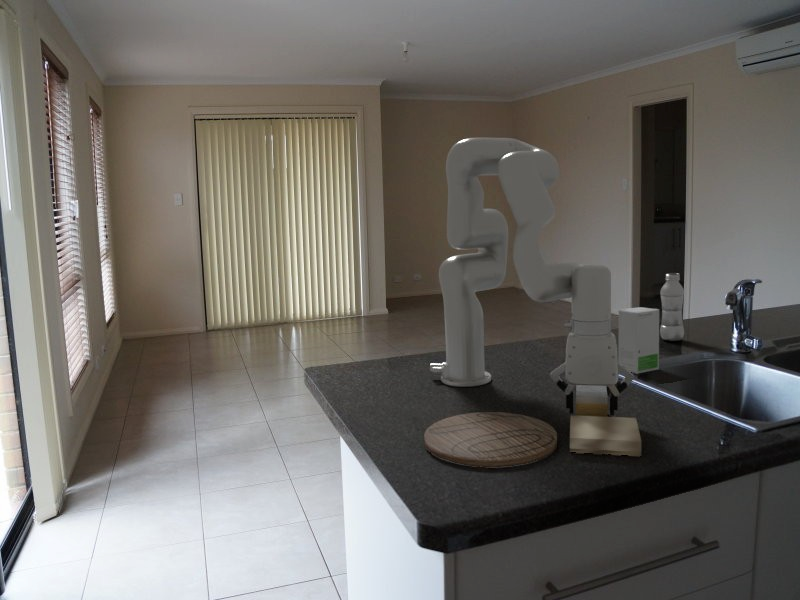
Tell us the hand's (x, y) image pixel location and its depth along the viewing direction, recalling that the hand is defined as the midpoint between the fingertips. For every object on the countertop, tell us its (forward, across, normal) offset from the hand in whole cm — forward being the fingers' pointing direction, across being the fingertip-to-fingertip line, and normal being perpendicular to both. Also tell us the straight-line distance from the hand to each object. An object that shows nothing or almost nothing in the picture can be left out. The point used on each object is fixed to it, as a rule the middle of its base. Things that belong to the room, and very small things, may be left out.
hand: (591, 412), depth 135 cm
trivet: (+2, -19, -15) cm, 24 cm away
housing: (+2, 0, 0) cm, 2 cm away
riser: (+1, +2, -13) cm, 13 cm away
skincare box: (+2, +12, +39) cm, 41 cm away
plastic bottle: (+2, +24, +72) cm, 76 cm away
